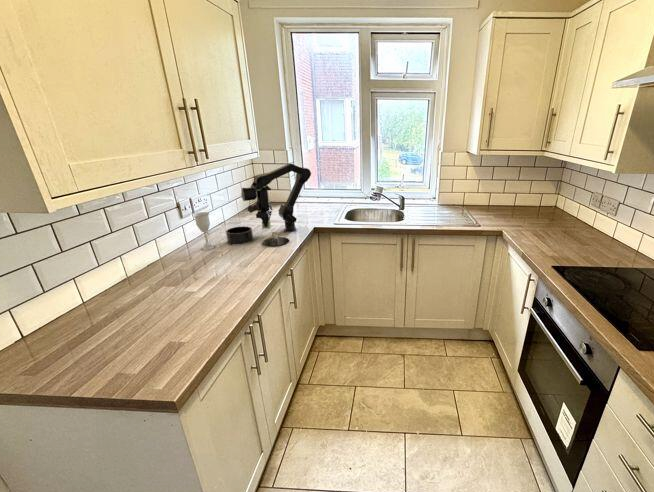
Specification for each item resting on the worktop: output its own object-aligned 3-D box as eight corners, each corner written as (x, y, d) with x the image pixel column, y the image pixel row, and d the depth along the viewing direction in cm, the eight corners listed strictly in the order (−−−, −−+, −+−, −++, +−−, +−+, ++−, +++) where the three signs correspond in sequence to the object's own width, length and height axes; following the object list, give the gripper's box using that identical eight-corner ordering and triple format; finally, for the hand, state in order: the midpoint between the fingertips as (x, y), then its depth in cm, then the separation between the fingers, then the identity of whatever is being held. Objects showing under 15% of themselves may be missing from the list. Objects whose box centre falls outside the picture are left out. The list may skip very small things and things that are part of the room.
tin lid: (264, 239, 174) (263, 229, 171) (290, 238, 176) (289, 227, 174) (260, 248, 161) (259, 237, 159) (288, 247, 164) (286, 236, 162)
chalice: (209, 251, 157) (201, 216, 150) (197, 250, 158) (189, 215, 151) (219, 246, 164) (212, 212, 157) (207, 244, 165) (200, 211, 158)
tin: (231, 237, 175) (229, 226, 173) (255, 236, 178) (253, 225, 175) (225, 246, 164) (223, 234, 161) (251, 244, 166) (249, 233, 164)
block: (263, 226, 180) (262, 220, 178) (270, 226, 181) (270, 219, 179) (262, 228, 176) (261, 222, 175) (270, 228, 177) (269, 221, 176)
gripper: (250, 195, 179) (254, 221, 185) (243, 203, 162) (248, 231, 168) (271, 194, 181) (274, 220, 187) (266, 202, 164) (270, 230, 170)
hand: (266, 225), depth 178 cm, fingers closed on block, 4 cm apart
